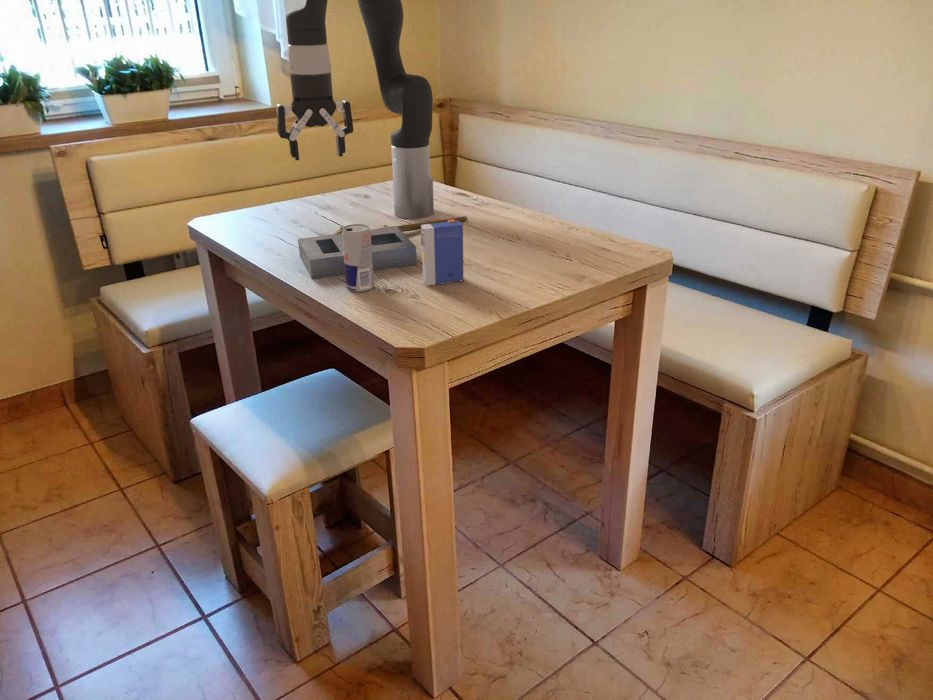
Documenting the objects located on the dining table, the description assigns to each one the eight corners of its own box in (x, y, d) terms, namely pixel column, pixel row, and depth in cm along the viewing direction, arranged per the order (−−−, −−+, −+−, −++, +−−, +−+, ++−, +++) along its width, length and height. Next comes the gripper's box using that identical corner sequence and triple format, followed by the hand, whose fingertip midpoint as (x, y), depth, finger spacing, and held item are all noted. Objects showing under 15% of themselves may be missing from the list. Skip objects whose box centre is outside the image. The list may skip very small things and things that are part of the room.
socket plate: (398, 244, 168) (397, 226, 167) (416, 264, 157) (416, 246, 155) (299, 256, 161) (297, 238, 160) (311, 278, 150) (309, 260, 148)
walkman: (458, 276, 151) (458, 218, 145) (463, 281, 148) (462, 222, 143) (421, 281, 148) (419, 223, 143) (425, 286, 146) (423, 227, 140)
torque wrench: (459, 225, 186) (470, 232, 182) (328, 244, 168) (337, 252, 165) (461, 207, 183) (471, 213, 180) (328, 224, 166) (337, 232, 162)
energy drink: (347, 282, 148) (342, 224, 142) (374, 281, 148) (370, 223, 143) (345, 293, 143) (340, 233, 138) (373, 292, 143) (369, 232, 138)
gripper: (343, 66, 145) (349, 151, 152) (268, 69, 141) (279, 156, 148) (352, 70, 139) (358, 158, 146) (274, 74, 134) (284, 165, 142)
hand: (318, 157), depth 147 cm, fingers open, 8 cm apart
